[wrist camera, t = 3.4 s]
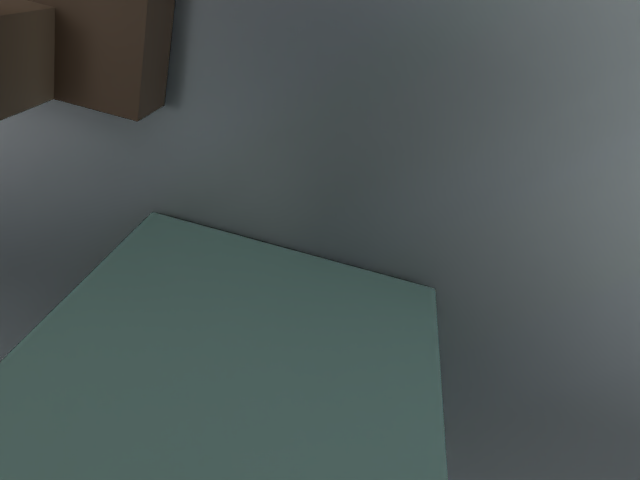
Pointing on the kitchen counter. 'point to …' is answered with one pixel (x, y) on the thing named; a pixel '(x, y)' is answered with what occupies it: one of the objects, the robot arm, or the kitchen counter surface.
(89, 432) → the green block
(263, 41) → the kitchen counter surface
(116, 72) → the divided brown tray
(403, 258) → the kitchen counter surface
